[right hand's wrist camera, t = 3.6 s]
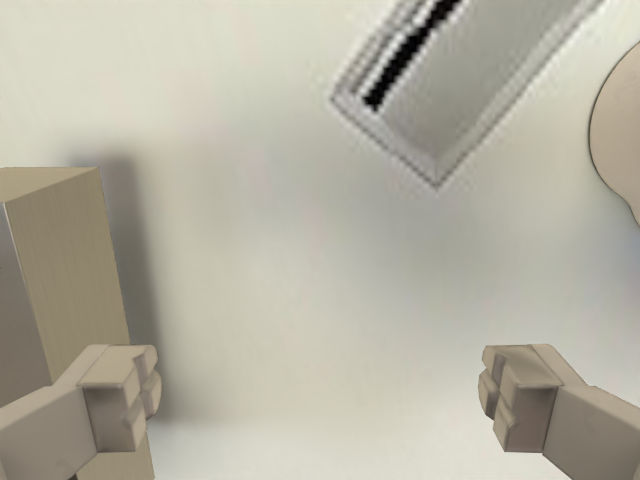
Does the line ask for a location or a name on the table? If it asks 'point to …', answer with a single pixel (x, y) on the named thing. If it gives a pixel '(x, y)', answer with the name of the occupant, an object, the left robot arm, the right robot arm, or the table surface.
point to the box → (59, 290)
